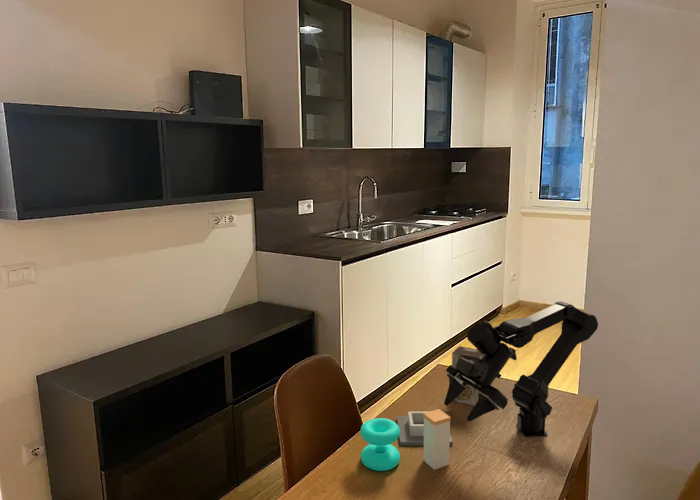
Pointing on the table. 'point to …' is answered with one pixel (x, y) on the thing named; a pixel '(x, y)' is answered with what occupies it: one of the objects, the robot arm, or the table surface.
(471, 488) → the table surface
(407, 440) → the socket
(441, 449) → the plug
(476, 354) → the coffee box
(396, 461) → the donuts
